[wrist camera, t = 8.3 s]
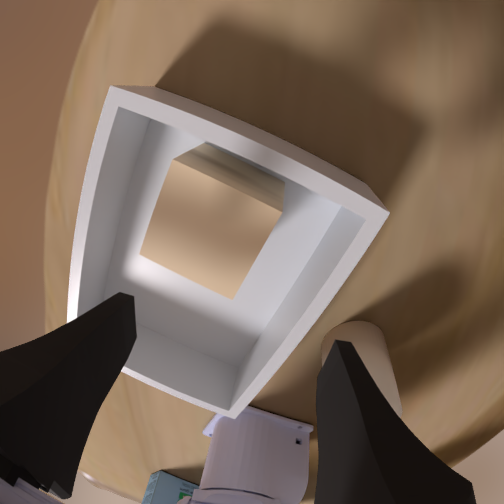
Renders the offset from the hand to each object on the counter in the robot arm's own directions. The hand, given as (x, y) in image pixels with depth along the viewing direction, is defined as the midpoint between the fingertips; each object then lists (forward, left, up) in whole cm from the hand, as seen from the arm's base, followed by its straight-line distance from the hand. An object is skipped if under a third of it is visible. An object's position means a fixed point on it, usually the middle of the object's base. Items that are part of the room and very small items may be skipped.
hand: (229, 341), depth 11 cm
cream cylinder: (-10, +5, -10) cm, 15 cm away
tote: (+3, +3, -10) cm, 11 cm away
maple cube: (+3, -1, -9) cm, 10 cm away
